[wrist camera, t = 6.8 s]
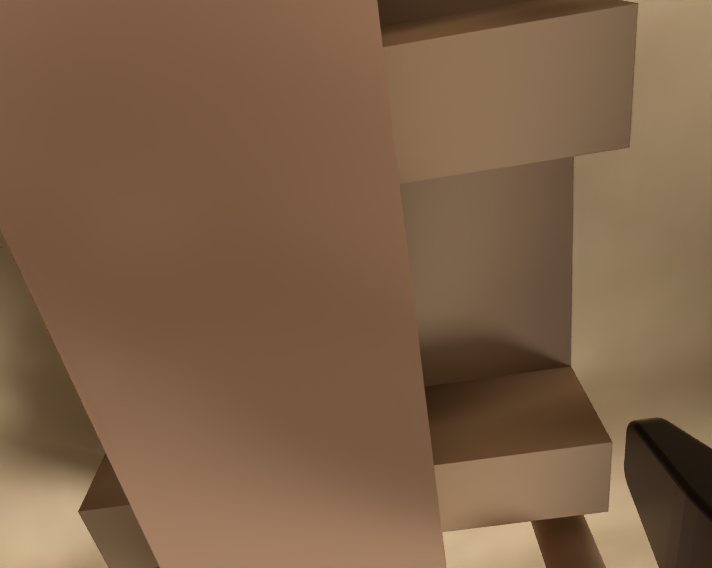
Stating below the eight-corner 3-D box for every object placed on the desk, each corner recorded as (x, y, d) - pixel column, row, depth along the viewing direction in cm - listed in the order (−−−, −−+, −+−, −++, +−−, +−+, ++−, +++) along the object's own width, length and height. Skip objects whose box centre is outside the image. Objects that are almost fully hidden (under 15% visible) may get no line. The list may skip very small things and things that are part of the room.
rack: (561, -143, 10) (740, -218, 6) (559, 464, 17) (640, 655, 12) (-63, -25, 11) (-359, -7, 6) (174, 514, 17) (114, 713, 13)
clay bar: (74, -73, 8) (-152, -93, 4) (348, -122, 7) (354, -186, 4) (294, 607, 14) (279, 819, 11) (442, 590, 14) (474, 800, 11)
